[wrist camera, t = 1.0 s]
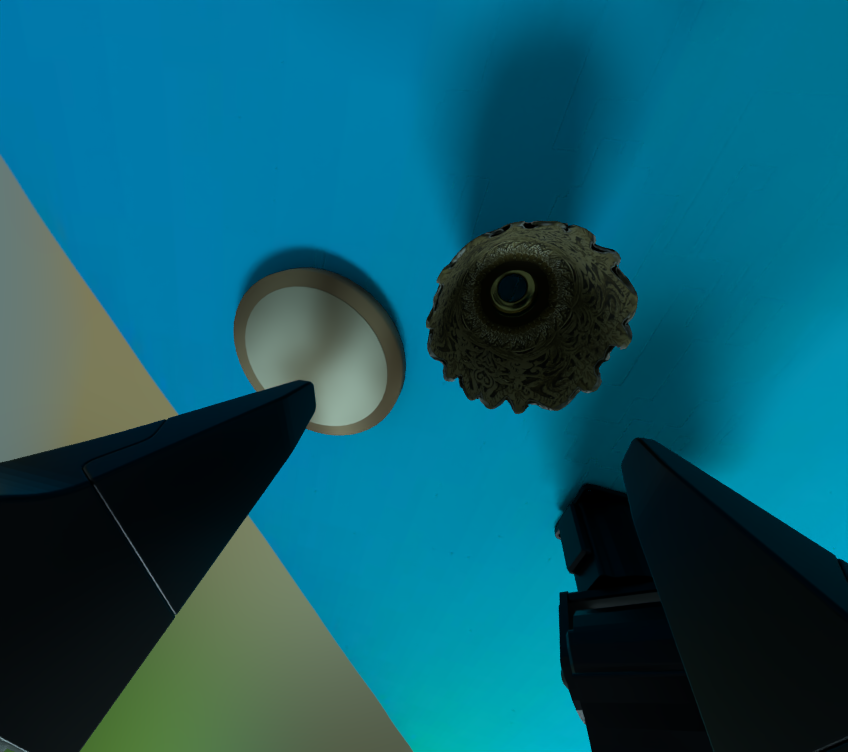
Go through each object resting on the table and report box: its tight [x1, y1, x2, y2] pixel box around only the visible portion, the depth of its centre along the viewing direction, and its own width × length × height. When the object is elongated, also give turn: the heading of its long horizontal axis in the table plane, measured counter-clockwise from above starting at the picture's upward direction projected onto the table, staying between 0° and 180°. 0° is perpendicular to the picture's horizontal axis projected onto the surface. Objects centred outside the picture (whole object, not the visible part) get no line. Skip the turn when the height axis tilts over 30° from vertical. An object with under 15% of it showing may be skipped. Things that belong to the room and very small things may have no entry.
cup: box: [426, 221, 638, 414], centre depth 15 cm, size 8×7×8 cm
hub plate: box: [234, 268, 406, 435], centre depth 23 cm, size 13×13×1 cm
